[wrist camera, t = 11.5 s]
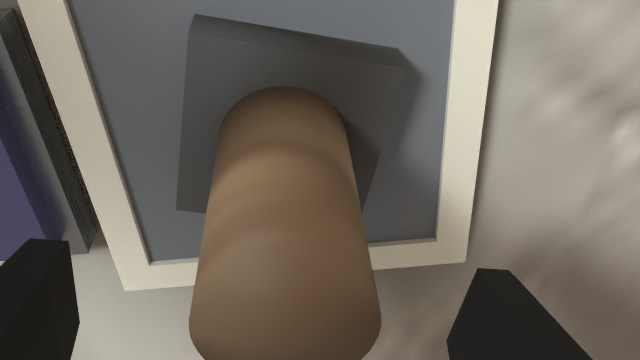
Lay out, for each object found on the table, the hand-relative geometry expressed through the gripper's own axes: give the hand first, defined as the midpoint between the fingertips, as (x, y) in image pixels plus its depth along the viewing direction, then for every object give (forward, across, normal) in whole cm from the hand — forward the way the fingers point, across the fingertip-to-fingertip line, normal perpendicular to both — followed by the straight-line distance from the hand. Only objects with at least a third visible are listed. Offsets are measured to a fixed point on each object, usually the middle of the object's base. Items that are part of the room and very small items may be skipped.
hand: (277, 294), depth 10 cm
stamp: (+6, 0, 0) cm, 6 cm away
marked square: (+7, 0, 0) cm, 7 cm away
